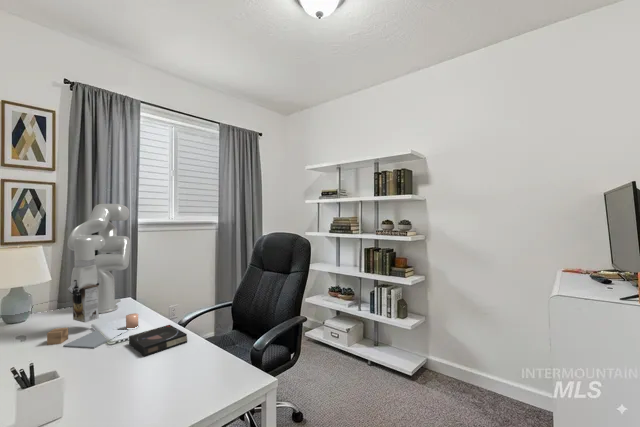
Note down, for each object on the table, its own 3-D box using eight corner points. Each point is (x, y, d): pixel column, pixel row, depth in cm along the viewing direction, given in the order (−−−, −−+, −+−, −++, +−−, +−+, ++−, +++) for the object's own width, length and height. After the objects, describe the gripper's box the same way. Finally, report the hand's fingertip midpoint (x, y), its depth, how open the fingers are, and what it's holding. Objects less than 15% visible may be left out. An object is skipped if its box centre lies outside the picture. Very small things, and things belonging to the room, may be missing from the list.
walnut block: (54, 340, 130) (54, 328, 130) (68, 339, 131) (68, 327, 131) (47, 345, 125) (47, 333, 125) (61, 343, 126) (61, 332, 126)
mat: (100, 329, 141) (100, 328, 141) (127, 331, 139) (127, 329, 139) (63, 346, 123) (63, 345, 123) (94, 348, 121) (94, 346, 121)
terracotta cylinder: (131, 325, 146) (131, 313, 146) (140, 325, 145) (140, 313, 145) (123, 329, 141) (123, 316, 141) (133, 329, 141) (133, 317, 140)
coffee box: (72, 320, 140) (71, 285, 140) (87, 315, 146) (86, 282, 146) (84, 323, 137) (83, 288, 136) (99, 318, 143) (98, 284, 142)
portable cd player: (144, 358, 114) (144, 347, 114) (129, 345, 125) (129, 336, 125) (187, 343, 126) (187, 334, 126) (169, 333, 138) (169, 324, 138)
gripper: (93, 259, 150) (94, 294, 151) (59, 267, 133) (60, 306, 133) (107, 260, 149) (108, 295, 150) (74, 267, 132) (75, 307, 132)
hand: (85, 300), depth 141 cm, fingers closed on coffee box, 7 cm apart
